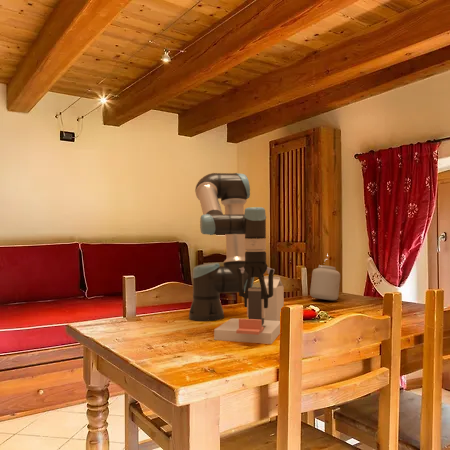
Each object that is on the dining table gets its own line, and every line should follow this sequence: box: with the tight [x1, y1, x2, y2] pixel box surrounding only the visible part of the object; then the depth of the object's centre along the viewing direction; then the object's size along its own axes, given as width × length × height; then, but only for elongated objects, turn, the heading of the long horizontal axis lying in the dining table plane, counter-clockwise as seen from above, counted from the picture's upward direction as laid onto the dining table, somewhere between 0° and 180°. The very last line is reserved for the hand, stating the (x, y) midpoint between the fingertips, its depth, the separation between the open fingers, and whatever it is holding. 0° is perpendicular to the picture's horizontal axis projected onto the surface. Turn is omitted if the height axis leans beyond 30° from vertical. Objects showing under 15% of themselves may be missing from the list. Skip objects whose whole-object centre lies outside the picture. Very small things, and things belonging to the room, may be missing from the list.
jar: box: [309, 254, 341, 301], centre depth 229 cm, size 19×15×25 cm
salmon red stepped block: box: [236, 317, 264, 335], centre depth 143 cm, size 8×8×4 cm
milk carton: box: [264, 275, 285, 321], centre depth 173 cm, size 7×7×19 cm
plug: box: [247, 286, 264, 325], centre depth 151 cm, size 4×4×13 cm
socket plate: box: [213, 318, 281, 345], centre depth 154 cm, size 20×20×4 cm
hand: (256, 316), depth 151 cm, fingers closed on plug, 4 cm apart
